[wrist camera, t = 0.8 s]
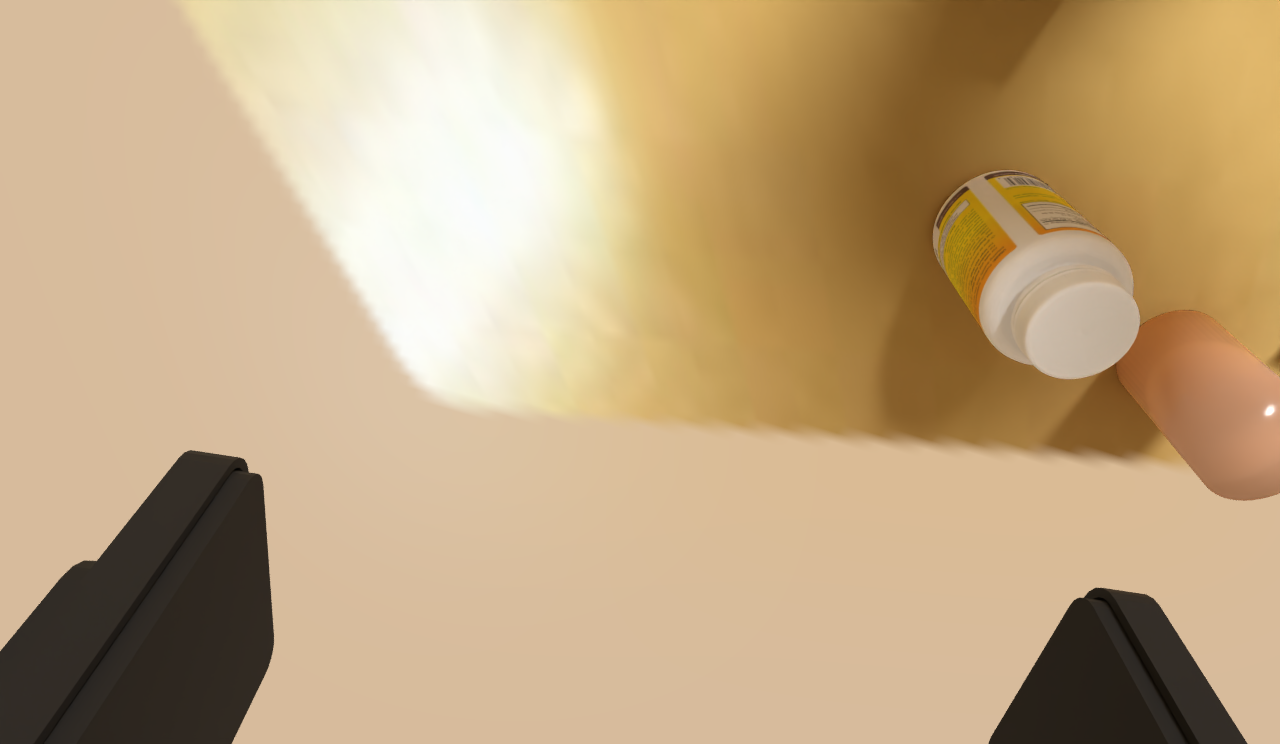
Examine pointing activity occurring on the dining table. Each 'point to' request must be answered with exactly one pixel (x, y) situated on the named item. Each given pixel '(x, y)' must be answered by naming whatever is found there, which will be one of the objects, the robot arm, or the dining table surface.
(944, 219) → the supplement bottle
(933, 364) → the dining table surface
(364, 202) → the dining table surface
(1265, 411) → the peach rounded capsule
